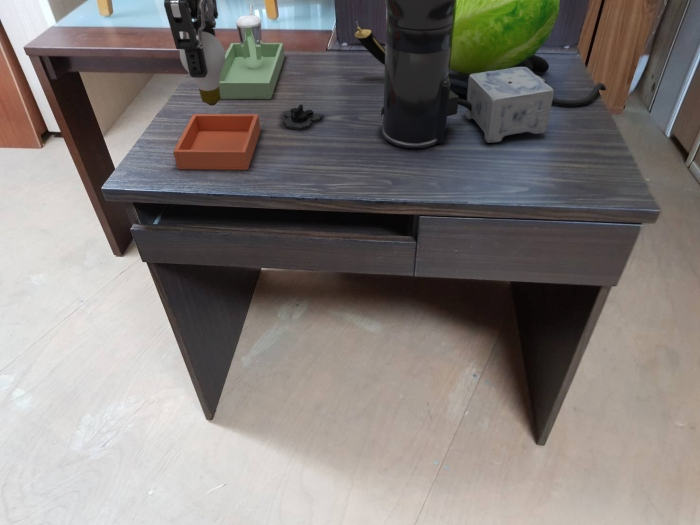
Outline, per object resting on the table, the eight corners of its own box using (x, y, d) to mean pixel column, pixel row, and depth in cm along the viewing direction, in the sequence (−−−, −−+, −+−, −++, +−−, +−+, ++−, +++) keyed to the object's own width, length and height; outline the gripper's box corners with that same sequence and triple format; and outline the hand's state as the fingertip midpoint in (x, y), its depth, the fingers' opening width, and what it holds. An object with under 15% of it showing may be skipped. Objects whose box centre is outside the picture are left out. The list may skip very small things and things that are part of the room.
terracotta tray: (260, 131, 87) (258, 114, 85) (248, 169, 78) (245, 152, 76) (196, 130, 87) (193, 113, 85) (177, 169, 79) (173, 151, 77)
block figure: (274, 113, 86) (288, 97, 90) (276, 126, 88) (289, 111, 92) (310, 117, 85) (322, 102, 89) (311, 131, 86) (323, 115, 90)
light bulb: (187, 100, 79) (171, 29, 72) (227, 92, 81) (214, 22, 74) (196, 117, 75) (180, 44, 68) (238, 108, 77) (226, 36, 70)
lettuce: (450, 117, 95) (446, 70, 106) (583, 52, 85) (564, 6, 95) (409, 51, 87) (408, 6, 97) (551, -32, 76) (534, -73, 86)
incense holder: (517, 114, 91) (458, 116, 89) (531, 65, 86) (470, 64, 84) (545, 142, 84) (482, 144, 82) (562, 90, 79) (496, 90, 77)
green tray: (284, 57, 109) (283, 42, 107) (271, 99, 95) (269, 82, 93) (233, 57, 109) (231, 42, 107) (212, 98, 95) (209, 82, 94)
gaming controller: (529, 80, 104) (507, 52, 101) (551, 65, 101) (528, 35, 99) (528, 105, 96) (503, 75, 94) (551, 89, 93) (526, 58, 91)
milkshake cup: (269, 59, 107) (263, 5, 100) (263, 70, 103) (256, 15, 96) (246, 59, 107) (238, 5, 101) (239, 70, 103) (231, 14, 97)
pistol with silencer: (488, 47, 83) (495, 93, 92) (357, 17, 95) (375, 60, 104) (475, 68, 82) (483, 113, 92) (344, 36, 94) (363, 78, 103)
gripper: (193, -63, 58) (221, 90, 69) (223, -90, 68) (242, 46, 80) (123, -63, 58) (162, 89, 69) (163, -90, 69) (191, 46, 80)
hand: (205, 65), depth 74 cm, fingers closed on light bulb, 6 cm apart
